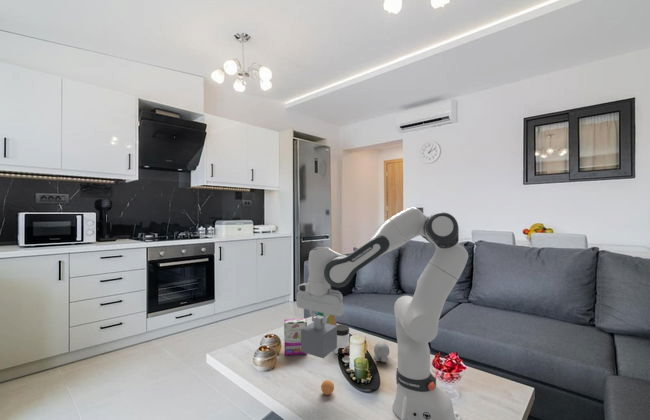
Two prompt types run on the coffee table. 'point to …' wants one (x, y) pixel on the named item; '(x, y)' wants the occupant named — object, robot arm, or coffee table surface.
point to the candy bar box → (293, 336)
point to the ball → (327, 387)
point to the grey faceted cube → (318, 338)
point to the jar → (342, 337)
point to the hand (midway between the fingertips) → (319, 322)
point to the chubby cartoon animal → (381, 352)
